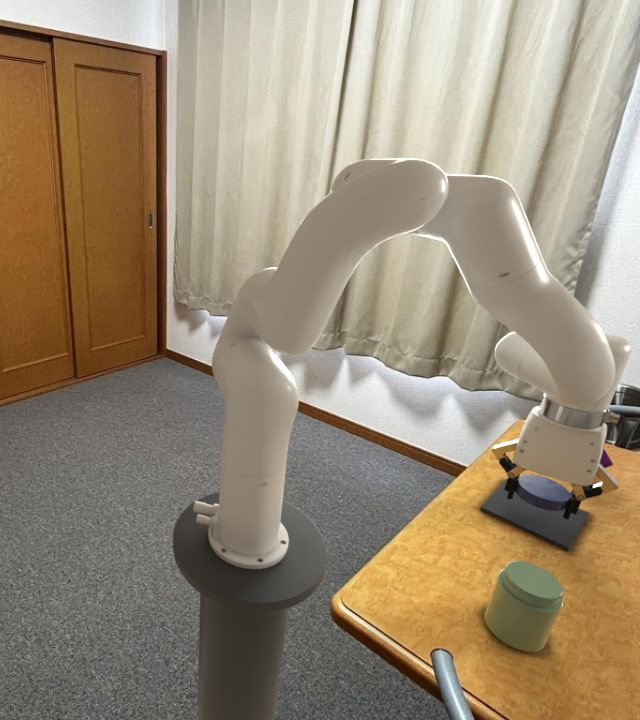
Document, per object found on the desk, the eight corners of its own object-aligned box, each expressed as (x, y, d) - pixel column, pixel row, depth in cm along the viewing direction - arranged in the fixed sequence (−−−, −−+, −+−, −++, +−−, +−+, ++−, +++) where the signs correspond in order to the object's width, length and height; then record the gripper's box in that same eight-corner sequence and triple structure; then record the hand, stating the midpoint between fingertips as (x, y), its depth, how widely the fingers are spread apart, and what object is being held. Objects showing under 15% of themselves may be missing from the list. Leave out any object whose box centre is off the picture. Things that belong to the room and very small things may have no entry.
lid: (568, 495, 79) (572, 486, 78) (565, 517, 74) (569, 508, 73) (517, 478, 83) (520, 469, 82) (511, 498, 78) (514, 488, 77)
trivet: (568, 551, 72) (569, 548, 72) (480, 509, 81) (481, 507, 80) (588, 515, 79) (589, 512, 79) (505, 481, 87) (506, 478, 87)
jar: (490, 642, 59) (509, 592, 55) (479, 600, 64) (495, 552, 61) (553, 659, 57) (576, 608, 53) (535, 615, 62) (556, 566, 59)
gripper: (649, 419, 69) (606, 515, 76) (506, 386, 80) (480, 473, 87) (652, 441, 64) (606, 542, 71) (499, 403, 75) (472, 494, 82)
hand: (537, 503), depth 79 cm, fingers closed on lid, 6 cm apart
